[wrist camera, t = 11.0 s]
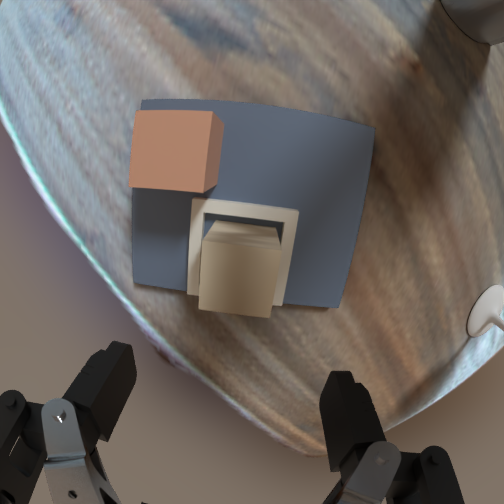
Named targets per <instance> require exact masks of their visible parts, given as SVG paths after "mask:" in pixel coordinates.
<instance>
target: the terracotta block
mask: <svg viewBox="0 0 504 504" xmlns="http://www.w3.org/2000/svg"><path fill="white" fill-rule="evenodd" d="M223 132H224V123H223V122H222V121H221V120H220V119H219V118H218V117H217V115H216V114H215V113H214V112H213V111H195V110H139V111H136V114H135V121H134V129H133V138H132V148H131V159H130V172H129V187H137V188H152V189H165V190H177V191H189V192H199V193H204V192H205V191H207V190H209V189H210V188H212V187H213V186H215V185H217V182H218V173H219V164H220V156H221V147H222V139H223Z"/></svg>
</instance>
